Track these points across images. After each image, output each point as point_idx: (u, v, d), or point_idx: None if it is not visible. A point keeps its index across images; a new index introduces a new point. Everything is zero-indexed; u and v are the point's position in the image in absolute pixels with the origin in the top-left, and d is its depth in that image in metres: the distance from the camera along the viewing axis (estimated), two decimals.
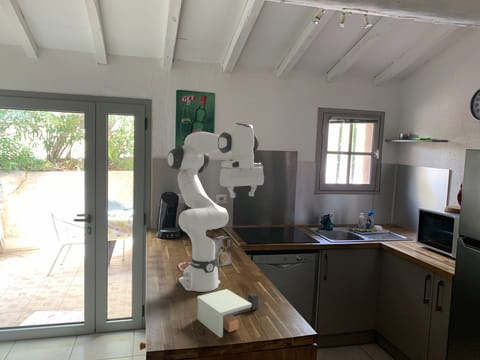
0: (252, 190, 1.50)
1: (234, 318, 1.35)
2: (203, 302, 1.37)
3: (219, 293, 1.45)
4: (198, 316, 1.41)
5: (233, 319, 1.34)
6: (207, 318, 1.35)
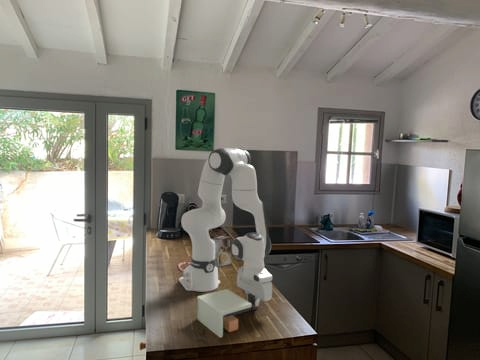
0: None
1: (234, 318, 1.35)
2: (203, 302, 1.37)
3: (219, 293, 1.45)
4: (198, 316, 1.41)
5: (233, 319, 1.34)
6: (207, 318, 1.35)
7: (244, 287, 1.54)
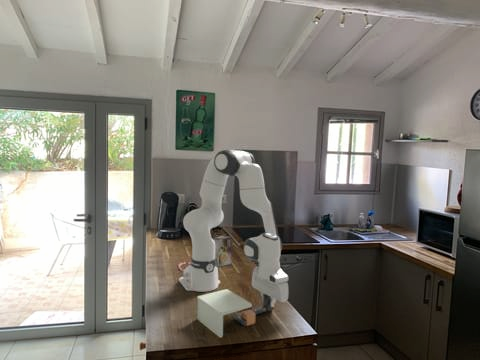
0: None
1: (251, 312, 1.40)
2: (203, 302, 1.37)
3: (219, 293, 1.45)
4: (198, 316, 1.41)
5: (250, 313, 1.39)
6: (207, 318, 1.35)
7: (259, 288, 1.52)
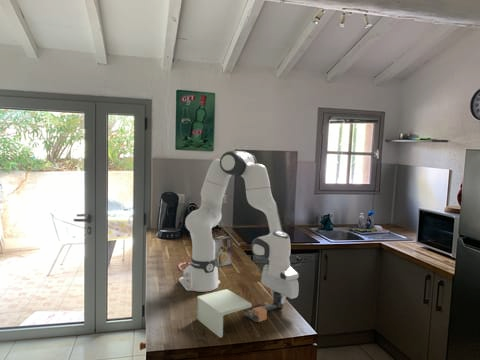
0: None
1: (263, 309, 1.43)
2: (203, 302, 1.37)
3: (219, 293, 1.45)
4: (198, 316, 1.41)
5: (262, 310, 1.42)
6: (207, 318, 1.35)
7: (269, 285, 1.56)
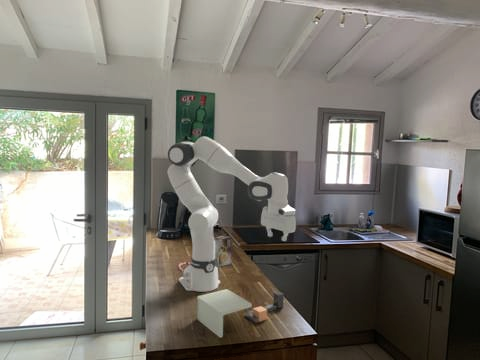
0: (269, 231, 1.68)
1: (263, 309, 1.43)
2: (203, 302, 1.37)
3: (219, 293, 1.45)
4: (198, 316, 1.41)
5: (262, 310, 1.42)
6: (207, 318, 1.35)
7: (268, 224, 1.65)
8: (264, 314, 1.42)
